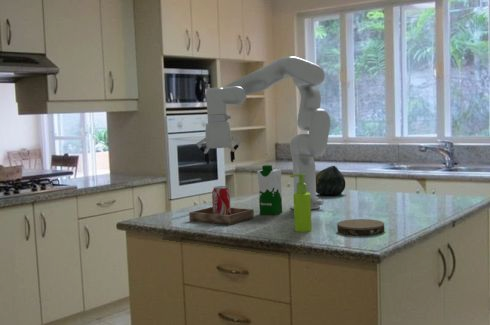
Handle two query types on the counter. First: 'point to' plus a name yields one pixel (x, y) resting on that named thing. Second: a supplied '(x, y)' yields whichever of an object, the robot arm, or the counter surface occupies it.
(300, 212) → the soap dispenser
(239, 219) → the walnut tray
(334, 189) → the squash
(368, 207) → the counter surface
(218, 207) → the soda can
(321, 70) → the robot arm
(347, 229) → the brown round disc
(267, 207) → the milk carton
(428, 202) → the counter surface
